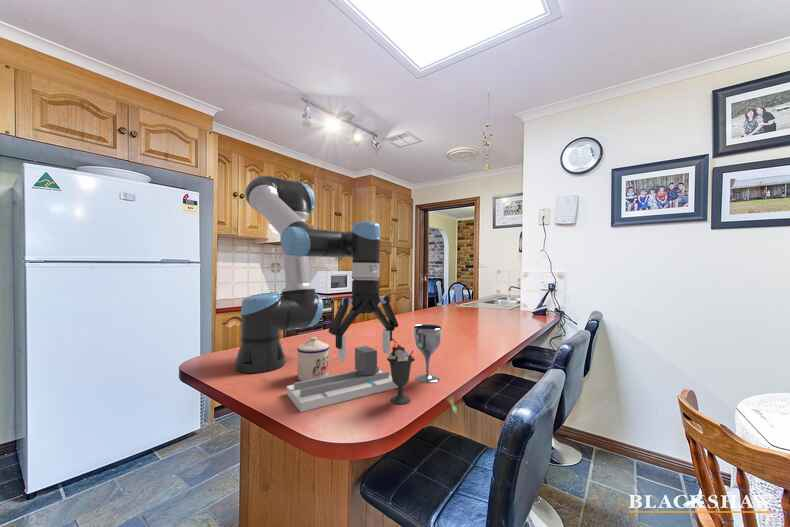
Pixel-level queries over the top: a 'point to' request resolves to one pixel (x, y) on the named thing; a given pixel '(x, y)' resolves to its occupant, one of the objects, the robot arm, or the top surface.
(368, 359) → the fader tab
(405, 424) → the top surface
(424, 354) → the wine glass
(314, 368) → the teacup with lid
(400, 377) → the sundae
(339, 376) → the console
